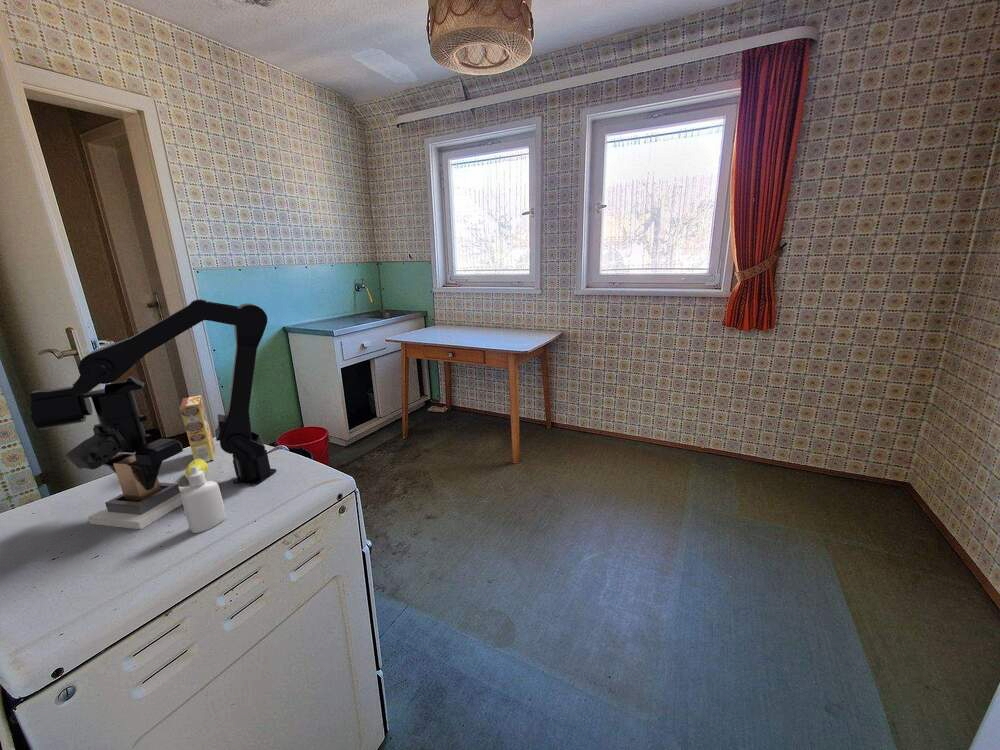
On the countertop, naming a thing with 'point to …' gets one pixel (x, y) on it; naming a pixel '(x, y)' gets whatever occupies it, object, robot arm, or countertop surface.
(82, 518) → the countertop surface
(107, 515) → the collar plate
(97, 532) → the countertop surface
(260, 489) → the countertop surface
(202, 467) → the yellow elongated oval piece
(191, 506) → the eye dropper bottle
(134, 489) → the wooden square prism
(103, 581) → the countertop surface
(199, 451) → the candy box
